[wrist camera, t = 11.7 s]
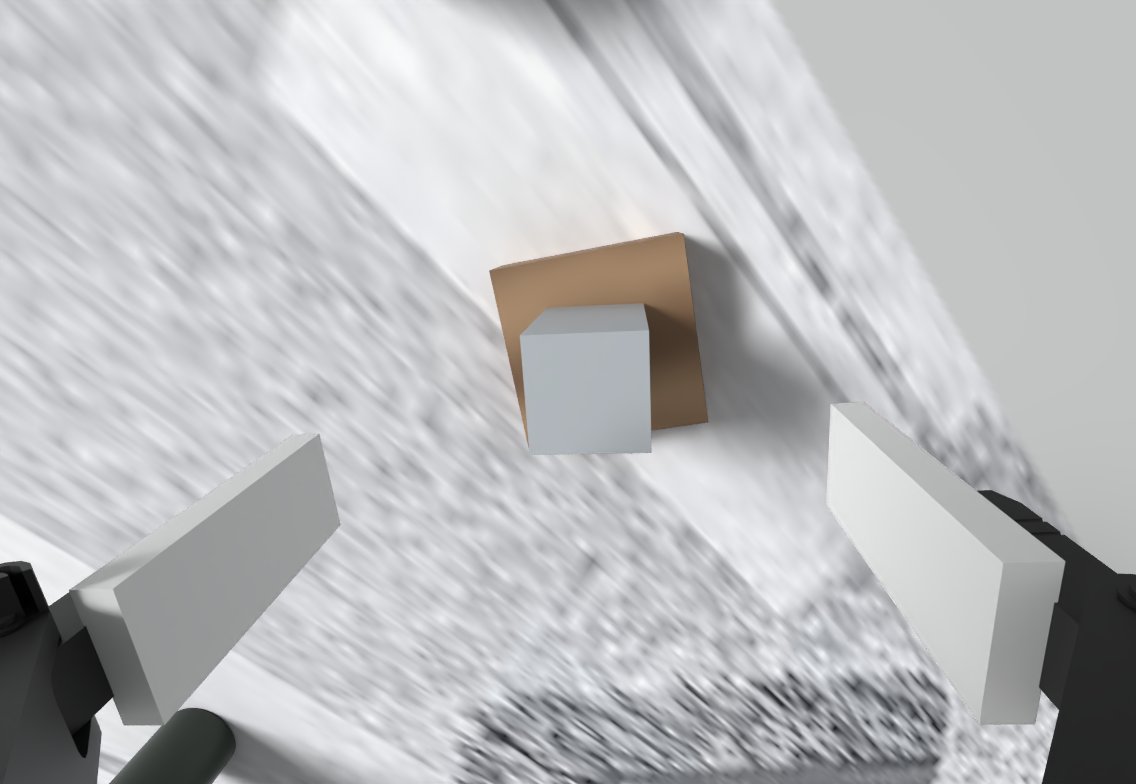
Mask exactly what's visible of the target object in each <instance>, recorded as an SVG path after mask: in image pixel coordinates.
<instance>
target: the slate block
mask: <svg viewBox="0 0 1136 784" xmlns="http://www.w3.org/2000/svg"><path fill="white" fill-rule="evenodd" d="M520 344H521V357H522V369H523V381H524V393H525V405H526V418H527V430H528V442H529V454H530V455H546V454H604V453H651V404H650V355H649V328H648V323H647V318H646V313H645V309H644V304H643V303H637V304H615V305H593V306H571V307H549V308H546V309H545V310H544V311H543V312H542V313H541V314H540V315H539V316H538V317H537V318H536V319H535V320H534V321H533V322H532V323H531V324H530V326H529V327H528V328H527V329H526V330H525V331H524V332H523V333H522V334H521V335H520Z"/></svg>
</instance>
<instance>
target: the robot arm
mask: <svg viewBox="0 0 1136 784" xmlns="http://www.w3.org/2000/svg"><path fill="white" fill-rule="evenodd" d="M826 506H827V507H828V508H829V510H830V511H831V513H832V514H833V516H834V517H835V518H836V520H837V521H838V523H839V524H840V526H841V527H842V528H843V530H844V531H845V533H846V534H847V536H848V537H849V539H850V540H851V541H852V543H853V544H854V546H855V547H856V549H857V550H858V551H859V553H860V554H861V556H862V557H863V559H864V560H865V561H866V563H867V564H868V566H869V567H870V569H871V570H872V571H873V573H874V574H875V576H876V577H877V579H878V580H879V582H880V583H881V584H882V586H883V587H884V589H885V590H886V592H887V593H888V594H889V596H890V597H891V599H892V600H893V602H894V603H895V604H896V606H897V607H898V609H899V610H900V612H901V613H902V614H903V616H904V617H905V619H906V620H907V622H908V623H909V625H910V626H911V627H912V629H913V630H914V632H915V633H916V635H917V636H918V637H919V639H920V640H921V642H922V643H923V645H924V646H925V647H926V649H927V650H928V652H929V653H930V655H931V656H932V657H933V659H934V660H935V662H936V663H937V665H938V666H939V668H940V669H941V670H942V672H943V673H944V675H945V676H946V678H947V679H948V680H949V682H950V683H951V685H952V686H953V688H954V689H955V690H956V692H957V693H958V695H959V696H960V698H961V699H962V700H963V702H964V703H965V705H966V706H967V708H968V709H969V711H970V712H971V713H972V715H973V716H974V718H975V719H976V721H977V722H978V723H979V724H1035V722H1036V717H1037V711H1038V706H1039V700H1040V695H1041V690H1042V691H1043V692H1044V693H1045V695H1046V696H1047V697H1048V698H1049V699H1050V700H1051V701H1052V703H1053V704H1054V705H1055V706H1056V707H1057V708H1058V709H1059V713H1058V718H1057V722H1056V726H1055V730H1054V735H1053V739H1052V743H1051V747H1050V752H1049V756H1048V760H1047V764H1046V769H1045V773H1044V777H1043V781H1042V784H1136V575H1135V574H1117V573H1116V572H1114V571H1113V570H1112V569H1110V568H1109V567H1108V566H1106V565H1105V564H1103V563H1102V562H1101V561H1099V560H1098V559H1097V558H1095V557H1094V556H1093V555H1091V554H1090V553H1088V552H1087V551H1086V550H1084V549H1083V548H1082V547H1080V546H1079V545H1078V544H1076V543H1075V542H1073V541H1072V540H1071V539H1069V538H1068V537H1067V536H1065V535H1061V534H1060V531H1058V530H1057V529H1056V528H1054V527H1053V526H1052V525H1050V524H1049V523H1048V522H1043V521H1042V518H1041V517H1039V516H1038V515H1037V514H1035V513H1034V512H1033V511H1031V510H1030V509H1029V508H1027V507H1026V506H1024V505H1023V504H1022V503H1020V502H1018V501H1015V500H1013V499H1011V498H1008V497H1006V496H1004V495H1001V494H999V493H997V492H994V491H992V490H984V491H976V490H975V489H973V488H972V487H971V486H970V485H968V484H967V483H966V482H964V481H963V480H962V479H961V478H959V477H958V476H957V475H956V474H954V473H953V472H952V471H951V470H949V469H948V468H947V467H946V466H944V465H943V464H942V463H940V462H939V461H938V460H937V459H935V458H934V457H933V456H932V455H930V454H929V453H928V452H927V451H925V450H924V449H923V448H922V447H920V446H919V445H918V444H916V443H915V442H914V441H913V440H911V439H910V438H909V437H908V436H906V435H905V434H904V433H903V432H901V431H900V430H899V429H898V428H896V427H895V426H894V425H892V424H891V423H890V422H889V421H887V420H886V419H885V418H884V417H882V416H881V415H880V414H879V413H877V412H876V411H875V410H874V409H872V408H871V407H870V406H868V405H867V404H866V403H865V402H852V403H835V404H831V410H830V432H829V455H828V478H827V500H826ZM340 525H341V524H340V520H339V516H338V512H337V507H336V503H335V499H334V495H333V490H332V486H331V482H330V478H329V473H328V469H327V465H326V461H325V456H324V452H323V448H322V444H321V439H320V435H319V434H302V435H292V436H290V437H289V438H287V439H286V440H284V441H283V442H281V443H280V444H279V445H277V446H276V447H274V448H273V449H271V450H270V451H269V452H267V453H266V454H264V455H263V456H261V457H260V458H258V459H257V460H256V461H254V462H253V463H251V464H250V465H248V466H247V467H245V468H244V469H243V470H241V471H240V472H238V473H237V474H235V475H234V476H233V477H231V478H230V479H228V480H227V481H225V482H224V483H222V484H221V485H220V486H218V487H217V488H215V489H214V490H212V491H211V492H210V493H208V494H207V495H205V496H204V497H202V498H201V499H199V500H198V501H197V502H195V503H194V504H192V505H191V506H189V507H188V508H187V509H185V510H184V511H182V512H181V513H179V514H178V515H176V516H175V517H174V518H172V519H171V520H169V521H168V522H166V523H165V524H163V525H162V526H161V527H159V528H158V529H156V530H155V531H153V532H152V533H151V534H149V535H148V536H146V537H145V538H143V539H142V540H140V541H139V542H138V543H136V544H135V545H133V546H132V547H130V548H129V549H128V550H126V551H125V552H123V553H122V554H120V555H119V556H117V557H116V558H115V559H113V560H112V561H110V562H109V563H107V564H106V565H105V566H103V567H102V568H100V569H99V570H97V571H96V572H94V573H93V574H92V575H90V576H89V577H87V578H86V579H84V580H83V581H82V582H80V583H79V584H77V585H76V586H74V587H73V588H71V589H70V590H69V591H70V592H69V593H67V594H66V595H64V596H63V597H62V598H60V599H59V600H57V601H56V602H54V603H53V604H52V605H50V606H48V604H47V602H46V599H45V597H44V594H43V592H42V590H41V587H40V585H39V583H38V580H37V578H36V576H35V573H34V571H33V568H32V566H31V564H30V563H28V562H23V561H17V562H7V563H2V564H0V784H97V776H98V765H99V755H100V744H101V734H102V733H101V730H100V727H99V724H98V722H97V720H96V717H95V714H96V713H97V712H98V711H99V710H100V709H101V708H102V707H103V706H104V705H105V704H106V703H107V702H108V701H109V700H110V699H111V698H112V697H113V700H114V702H115V705H116V707H117V709H118V712H119V714H120V717H121V719H122V722H123V724H124V725H165V724H166V723H167V722H168V721H169V720H170V718H171V717H172V716H173V715H174V714H175V713H176V712H177V710H178V709H179V708H180V707H181V706H182V705H183V704H184V702H185V701H186V700H187V699H188V698H189V697H190V696H191V694H192V693H193V692H194V691H195V690H196V689H197V688H198V686H199V685H200V684H201V683H202V682H203V681H204V680H205V679H206V677H207V676H208V675H209V674H210V673H211V672H212V671H213V669H214V668H215V667H216V666H217V665H218V664H219V663H220V661H221V660H222V659H223V658H224V657H225V656H226V655H227V653H228V652H229V651H230V650H231V649H232V648H233V647H234V646H235V644H236V643H237V642H238V641H239V640H240V639H241V638H242V636H243V635H244V634H245V633H246V632H247V631H248V630H249V628H250V627H251V626H252V625H253V624H254V623H255V622H256V620H257V619H258V618H259V617H260V616H261V615H262V614H263V612H264V611H265V610H266V609H267V608H268V607H269V606H270V605H271V603H272V602H273V601H274V600H275V599H276V598H277V597H278V595H279V594H280V593H281V592H282V591H283V590H284V589H285V587H286V586H287V585H288V584H289V583H290V582H291V581H292V579H293V578H294V577H295V576H296V575H297V574H298V573H299V572H300V570H301V569H302V568H303V567H304V566H305V565H306V564H307V562H308V561H309V560H310V559H311V558H312V557H313V556H314V554H315V553H316V552H317V551H318V550H319V549H320V548H321V546H322V545H323V544H324V543H325V542H326V541H327V540H328V538H329V537H330V536H331V535H332V534H333V533H334V532H335V531H336V529H337V528H338V527H339V526H340Z"/></svg>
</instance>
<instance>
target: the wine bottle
mask: <svg viewBox="0 0 1136 784" xmlns="http://www.w3.org/2000/svg"><path fill="white" fill-rule="evenodd" d="M234 750H235V739H234V736H233V734H232V732H231V730H230V728H229V727H228V726H227V725H226V723H225V722H223V721H222V720H221V719H220V718H219V717H217V716H216V715H214V714H212V713H210V712H207V711H204V710H201V709H194V708H189V709H183V710H179V711H177V712H176V713H175V714H174V715H173V716H172V717H171V718H170V720H169V721H168V722H167V723H166V724H165V725H162V726H161V727H160V728H159V729H158V730H157V732H156V733H155V734H154V735H153V736H152V737H151V738H150V739H149V740H148V742H147V743H146V744H145V745H144V746H143V747H142V748H141V749H140V750H139V751H138V753H137V754H136V755H135V756H134V757H133V758H132V759H131V760H130V761H129V762H128V764H127V765H126V766H125V767H124V768H123V769H122V770H121V771H120V772H119V774H118V775H117V776H116V777H115V778H114V779H113V780H112V781H111V782H110V783H109V784H212V783H213V782H214V780H215V779H216V778H217V776H218V775H219V773H220V772H221V771H222V769H223V768H224V766H225V765H226V764H227V762H228V761H229V760H230V758H231V757H232V755H233V753H234Z"/></svg>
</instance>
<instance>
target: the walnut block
mask: <svg viewBox="0 0 1136 784" xmlns="http://www.w3.org/2000/svg"><path fill="white" fill-rule="evenodd" d="M489 272H490V276H491V281H492V285H493V290H494V294H495V299H496V303H497V308H498V312H499V317H500V321H501V326H502V330H503V335H504V339H505V344H506V348H507V352H508V357H509V361H510V366H511V370H512V375H513V379H514V384H515V388H516V393H517V397H518V402H519V406H520V411H521V415H522V420H523V424H524V429H525V433H526V438H527V442H528V430H527V418H526V405H525V393H524V381H523V369H522V357H521V344H520V335H521V334H522V333H523V332H524V331H525V330H526V329H527V328H528V327H529V326H530V324H531V323H532V322H533V321H534V320H535V319H536V318H537V317H538V316H539V315H540V314H541V313H542V312H543V311H544V310H545V309H546V308H549V307H571V306H593V305H615V304H637V303H643V304H644V309H645V313H646V318H647V323H648V328H649V355H650V404H651V430H658V429H665V428H672V427H678V426H685V425H692V424H699V423H706V422H708V416H707V409H706V401H705V393H704V386H703V378H702V371H701V363H700V355H699V348H698V340H697V332H696V325H695V317H694V310H693V302H692V294H691V287H690V279H689V272H688V264H687V256H686V249H685V241H684V234H683V233H679V232H674V233H669V234H664V235H659V236H654V237H648V238H643V239H638V240H633V241H628V242H622V243H617V244H612V245H607V246H602V247H596V248H591V249H586V250H581V251H575V252H570V253H565V254H560V255H555V256H549V257H544V258H539V259H534V260H529V261H523V262H518V263H513V264H508V265H503V266H500V267H498V268H495V269H493V270H490V271H489ZM528 447H529V442H528Z"/></svg>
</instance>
